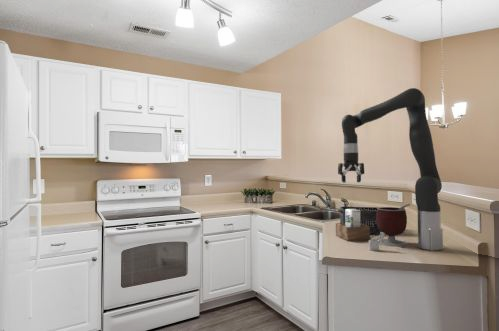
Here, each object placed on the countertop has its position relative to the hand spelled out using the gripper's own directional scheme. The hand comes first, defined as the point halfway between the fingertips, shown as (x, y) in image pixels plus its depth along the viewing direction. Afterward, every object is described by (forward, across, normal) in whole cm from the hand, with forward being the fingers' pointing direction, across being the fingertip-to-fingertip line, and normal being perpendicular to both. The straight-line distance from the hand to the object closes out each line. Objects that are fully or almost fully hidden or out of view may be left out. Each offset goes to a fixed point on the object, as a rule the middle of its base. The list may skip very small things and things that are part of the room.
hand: (351, 182), depth 167 cm
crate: (+30, 0, 0) cm, 30 cm away
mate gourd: (+30, +13, -16) cm, 36 cm away
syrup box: (+29, 0, 0) cm, 29 cm away
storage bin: (+30, +18, +16) cm, 39 cm away
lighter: (+30, -2, -25) cm, 39 cm away
